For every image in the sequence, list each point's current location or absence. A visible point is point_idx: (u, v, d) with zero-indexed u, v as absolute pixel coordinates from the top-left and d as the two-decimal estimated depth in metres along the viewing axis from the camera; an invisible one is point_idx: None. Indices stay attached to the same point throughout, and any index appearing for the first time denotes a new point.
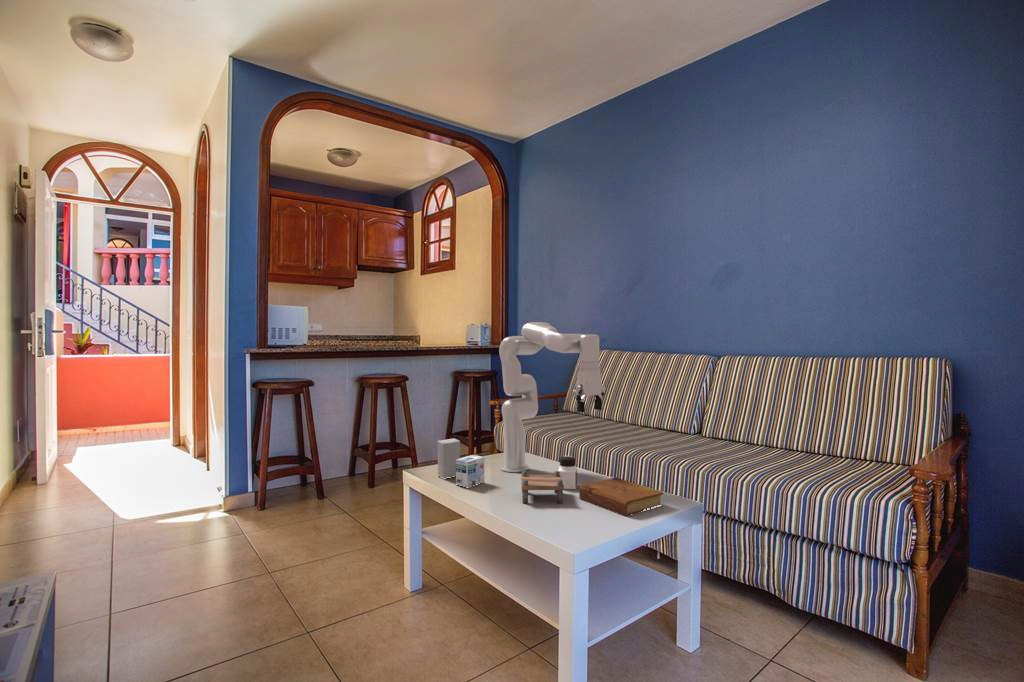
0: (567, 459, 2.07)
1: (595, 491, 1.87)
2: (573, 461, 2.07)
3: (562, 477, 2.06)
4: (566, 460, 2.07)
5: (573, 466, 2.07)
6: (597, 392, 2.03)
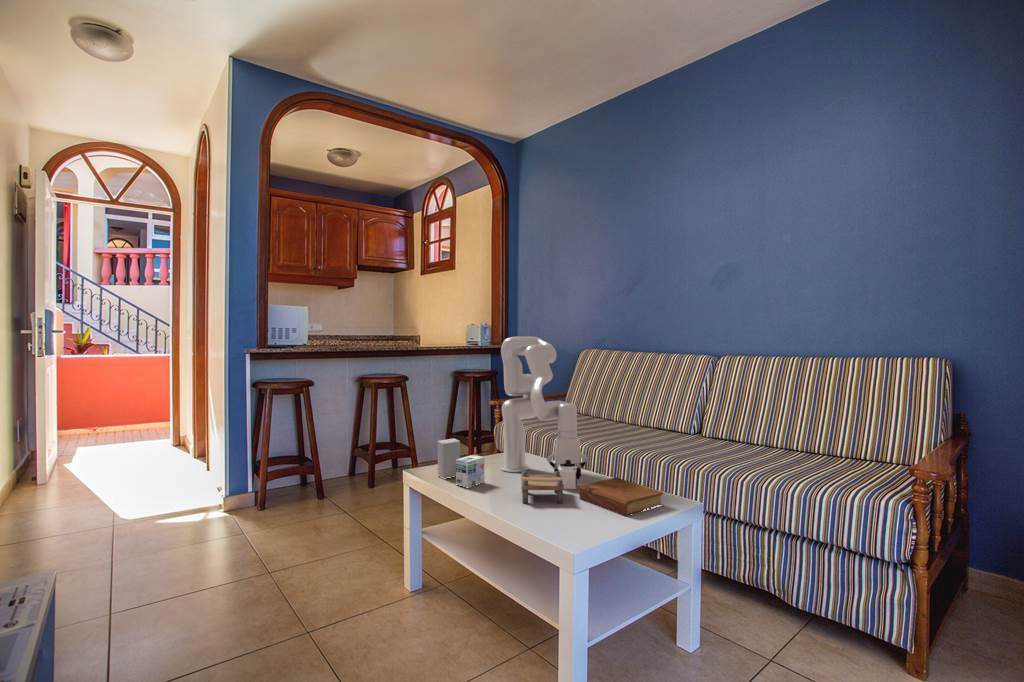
0: None
1: (595, 491, 1.87)
2: None
3: (562, 477, 2.06)
4: (566, 460, 2.07)
5: (573, 466, 2.07)
6: None
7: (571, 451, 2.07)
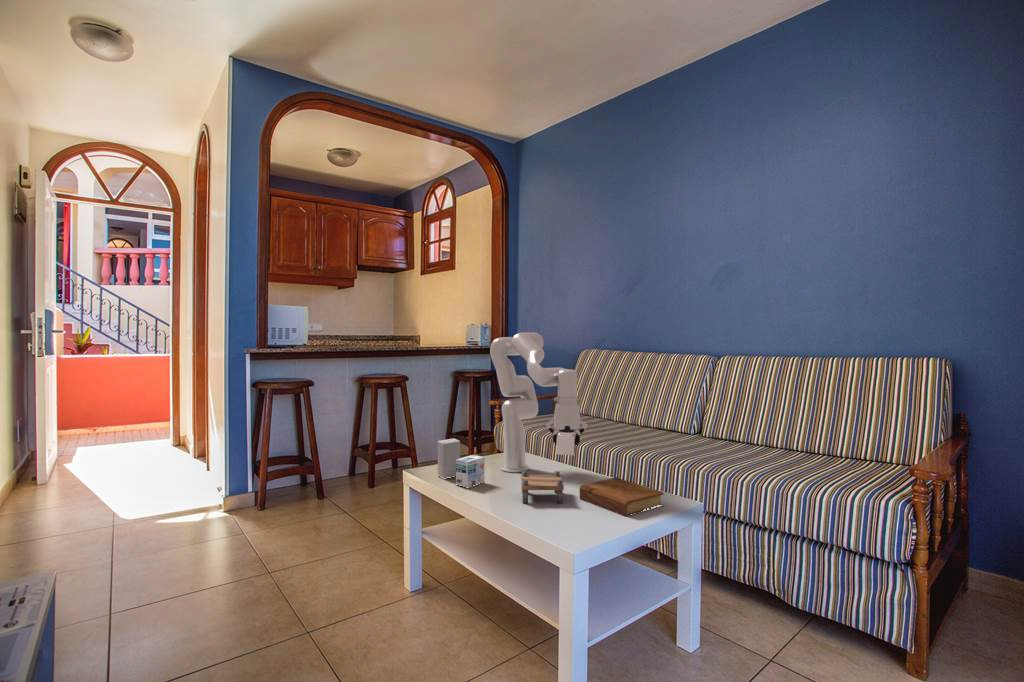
0: None
1: (595, 491, 1.87)
2: None
3: (561, 443, 2.07)
4: (565, 426, 2.07)
5: (572, 432, 2.08)
6: None
7: (571, 417, 2.07)
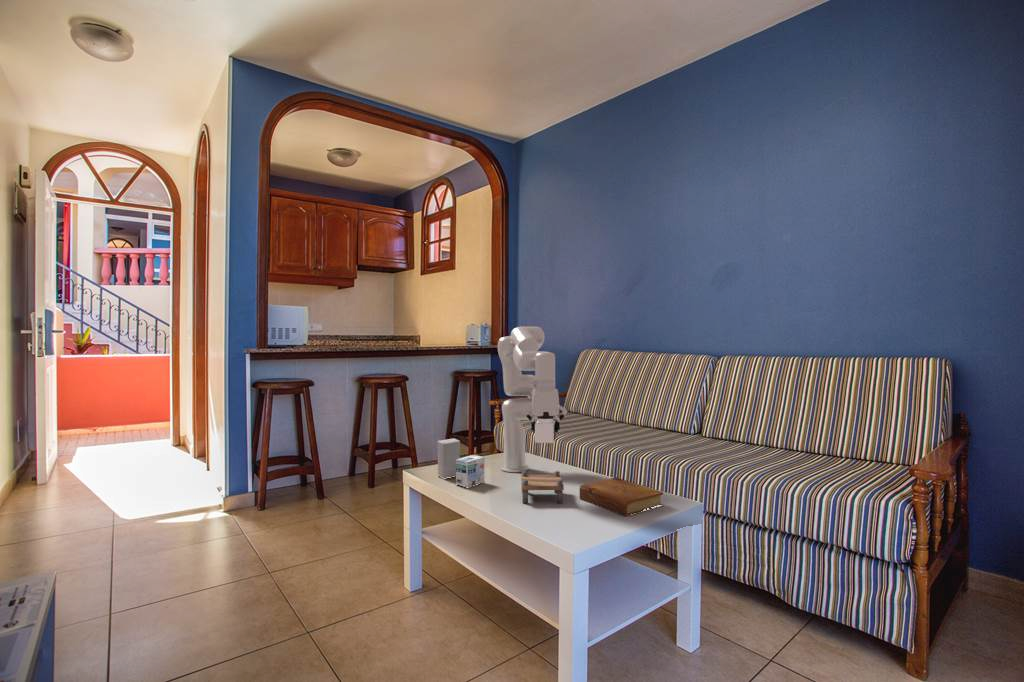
0: None
1: (595, 491, 1.87)
2: None
3: (539, 430, 1.94)
4: (544, 412, 1.94)
5: (551, 418, 1.95)
6: None
7: (549, 402, 1.94)
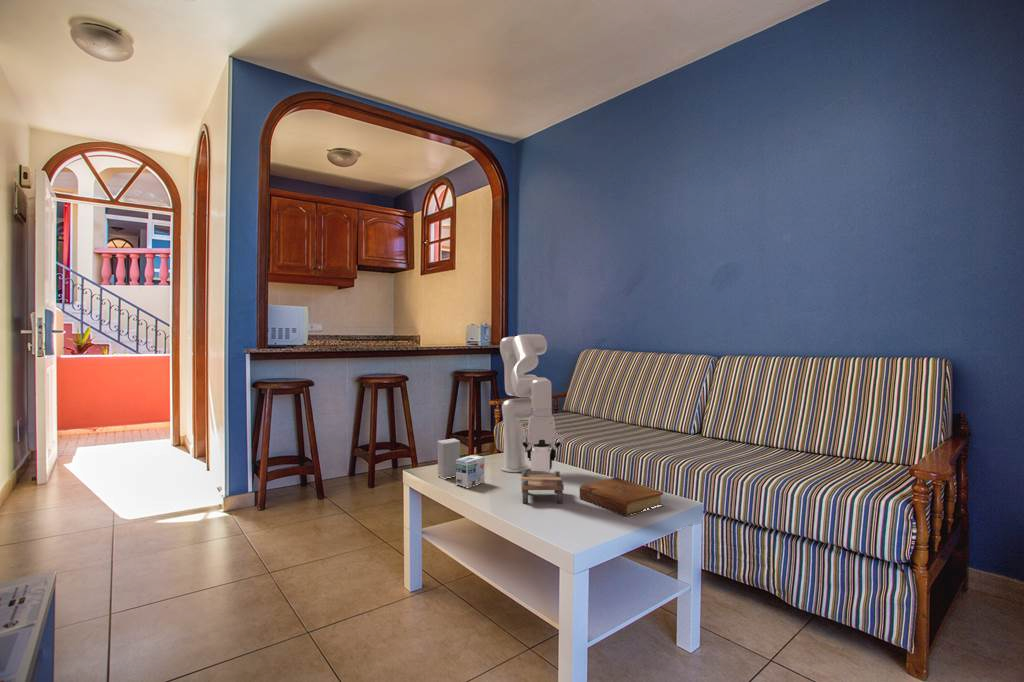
0: None
1: (595, 491, 1.87)
2: None
3: (535, 458, 1.92)
4: (540, 440, 1.93)
5: (547, 446, 1.93)
6: None
7: (545, 430, 1.93)
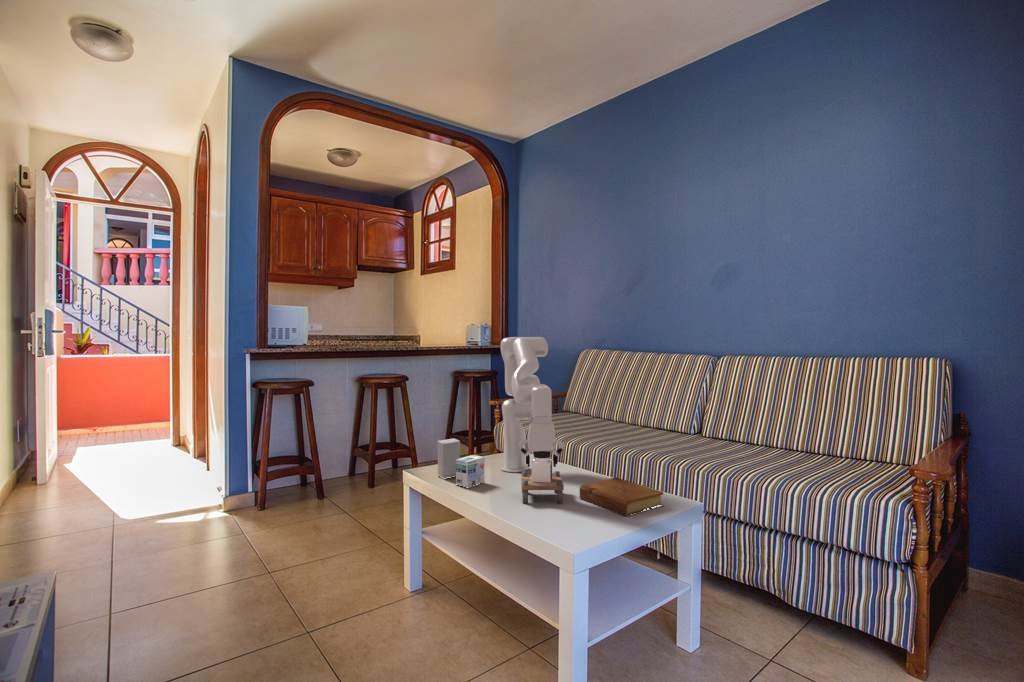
0: None
1: (595, 491, 1.87)
2: (548, 452, 1.94)
3: (536, 469, 1.92)
4: (540, 451, 1.93)
5: (548, 458, 1.94)
6: None
7: (545, 438, 1.93)
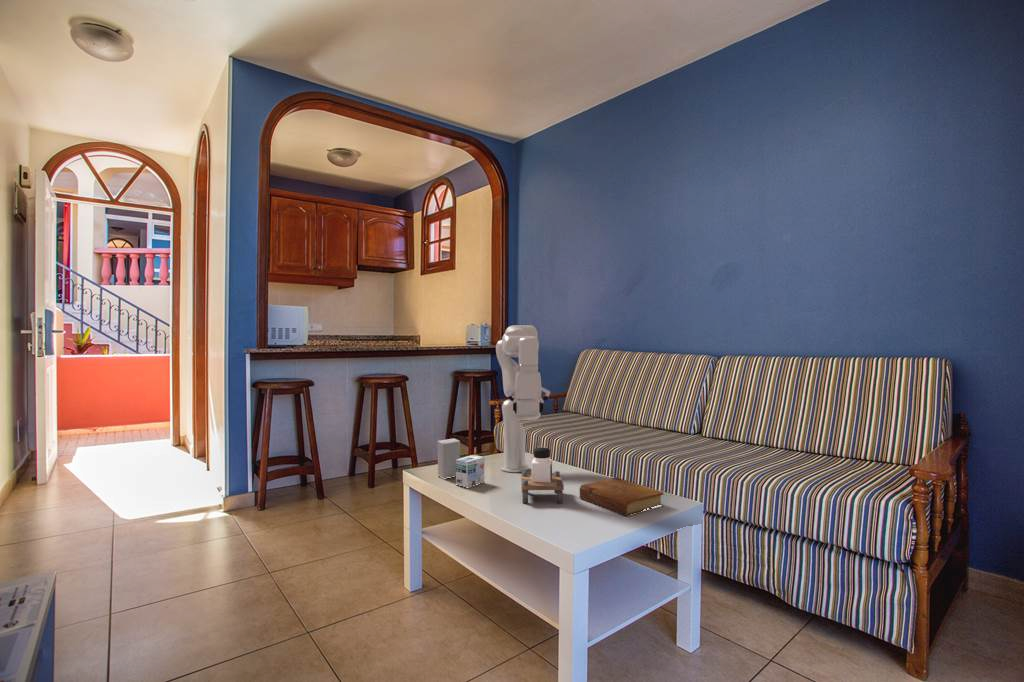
0: (541, 450, 1.93)
1: (595, 491, 1.87)
2: (548, 452, 1.94)
3: (536, 469, 1.92)
4: (540, 451, 1.93)
5: (548, 458, 1.94)
6: None
7: (532, 385, 2.02)
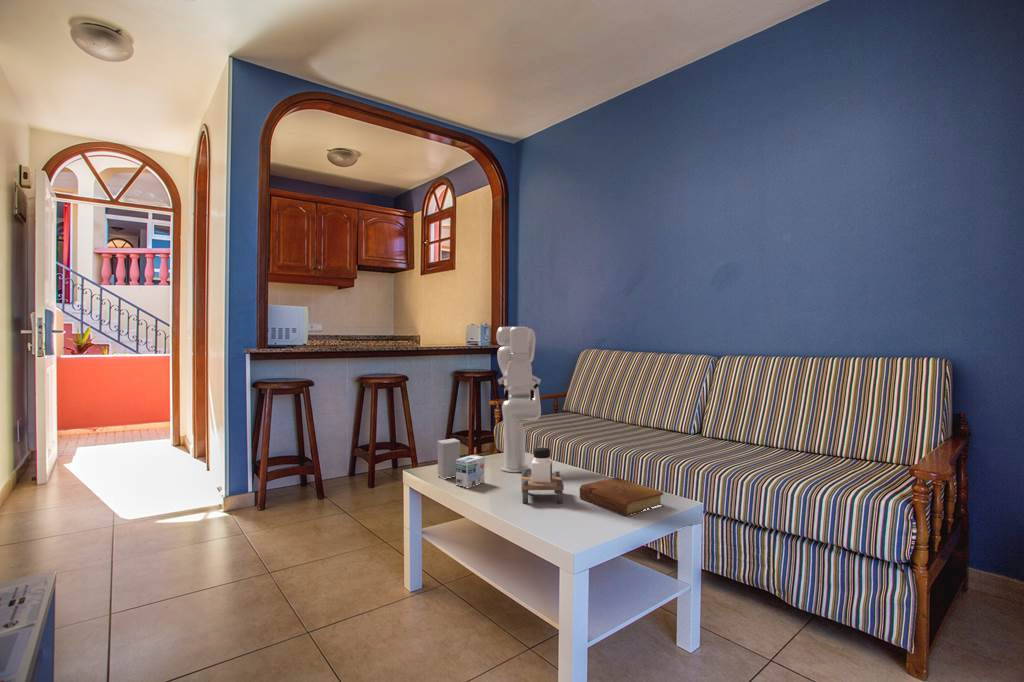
0: (541, 450, 1.93)
1: (595, 491, 1.87)
2: (548, 452, 1.94)
3: (536, 469, 1.92)
4: (540, 451, 1.93)
5: (548, 458, 1.94)
6: None
7: (522, 373, 2.08)
